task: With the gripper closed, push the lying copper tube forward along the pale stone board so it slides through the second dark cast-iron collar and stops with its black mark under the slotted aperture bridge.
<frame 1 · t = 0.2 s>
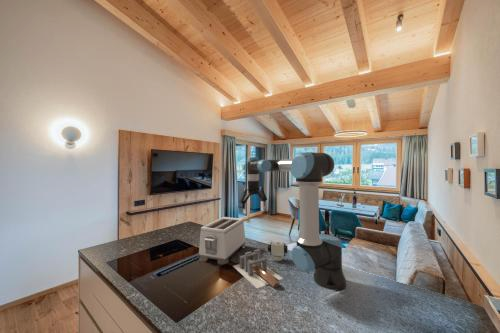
hand: (253, 212, 138), 28 cm above the worktop, fingers open, 13 cm apart
tube: (264, 278, 107), point 1 cm above the worktop, touching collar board
toaster: (223, 254, 140), on the worktop
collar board: (256, 273, 113), on the worktop
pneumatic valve: (278, 261, 128), on the worktop
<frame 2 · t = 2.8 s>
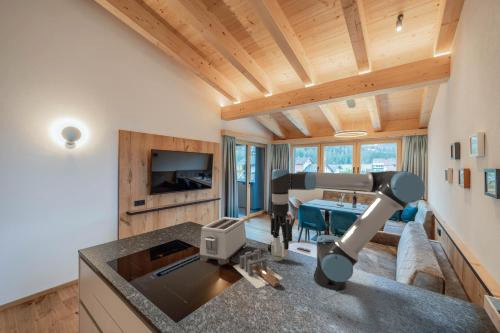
hand: (281, 253, 95), 19 cm above the worktop, fingers open, 5 cm apart
tube: (264, 278, 107), point 1 cm above the worktop, tilted 9°, touching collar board
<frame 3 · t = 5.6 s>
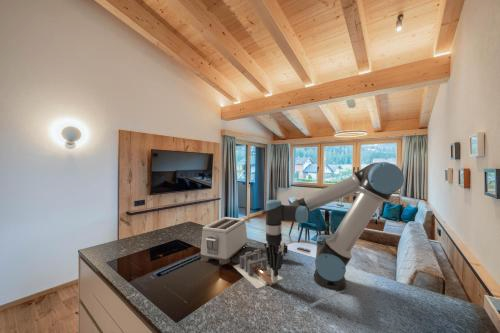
hand: (274, 281, 99), 3 cm above the worktop, fingers closed
tube: (263, 277, 108), point 1 cm above the worktop, tilted 10°, touching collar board, gripper
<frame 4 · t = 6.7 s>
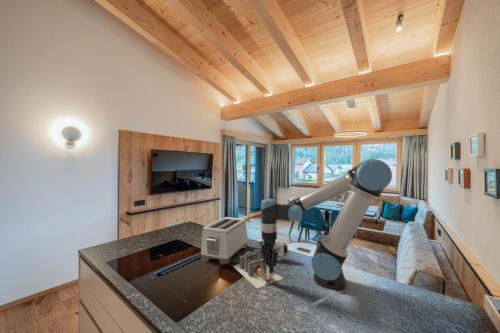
hand: (269, 278, 103), 3 cm above the worktop, fingers closed
tube: (259, 273, 111), point 1 cm above the worktop, tilted 13°, touching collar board
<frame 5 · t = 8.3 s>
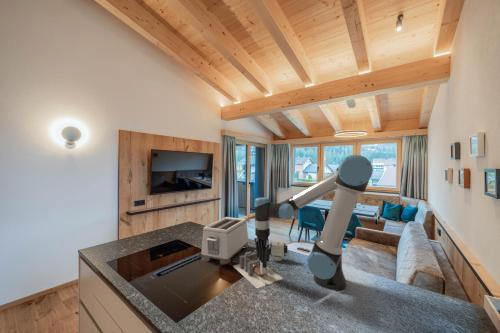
hand: (263, 273, 108), 3 cm above the worktop, fingers closed
tube: (253, 269, 116), point 1 cm above the worktop, tilted 15°, touching gripper
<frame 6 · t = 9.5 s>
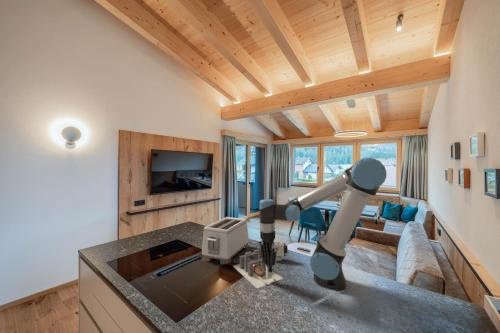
hand: (269, 277, 104), 3 cm above the worktop, fingers closed
tube: (253, 269, 116), point 1 cm above the worktop, tilted 10°, touching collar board
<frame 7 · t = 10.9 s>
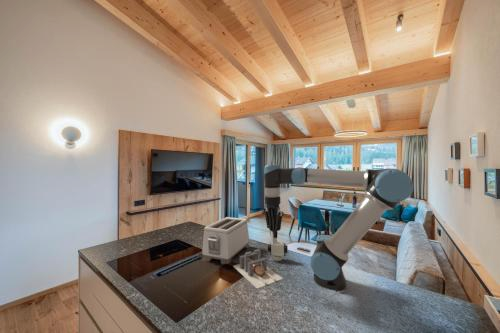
hand: (274, 243, 102), 20 cm above the worktop, fingers closed
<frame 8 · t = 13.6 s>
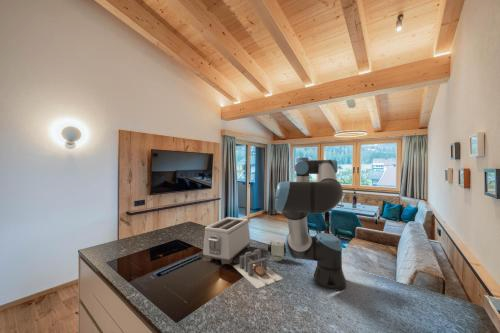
hand: (303, 222, 125), 24 cm above the worktop, fingers closed
tube: (253, 269, 116), point 1 cm above the worktop, touching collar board
at the end: tube 0.3 cm from the target spot, point 1.0 cm above the worktop; tube moved 11.2 cm from its start; tube touching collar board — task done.
